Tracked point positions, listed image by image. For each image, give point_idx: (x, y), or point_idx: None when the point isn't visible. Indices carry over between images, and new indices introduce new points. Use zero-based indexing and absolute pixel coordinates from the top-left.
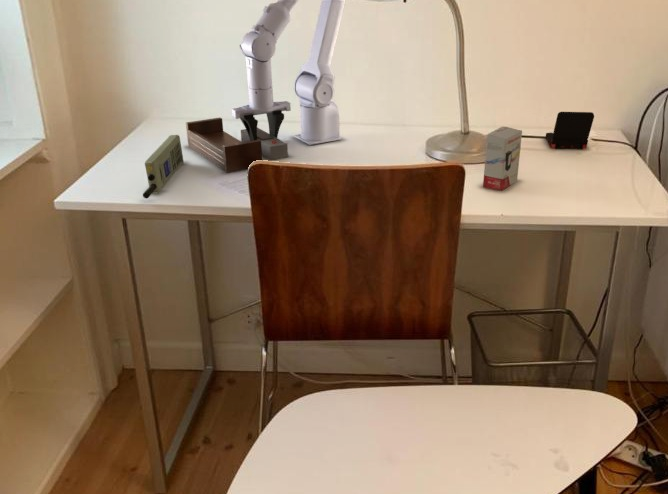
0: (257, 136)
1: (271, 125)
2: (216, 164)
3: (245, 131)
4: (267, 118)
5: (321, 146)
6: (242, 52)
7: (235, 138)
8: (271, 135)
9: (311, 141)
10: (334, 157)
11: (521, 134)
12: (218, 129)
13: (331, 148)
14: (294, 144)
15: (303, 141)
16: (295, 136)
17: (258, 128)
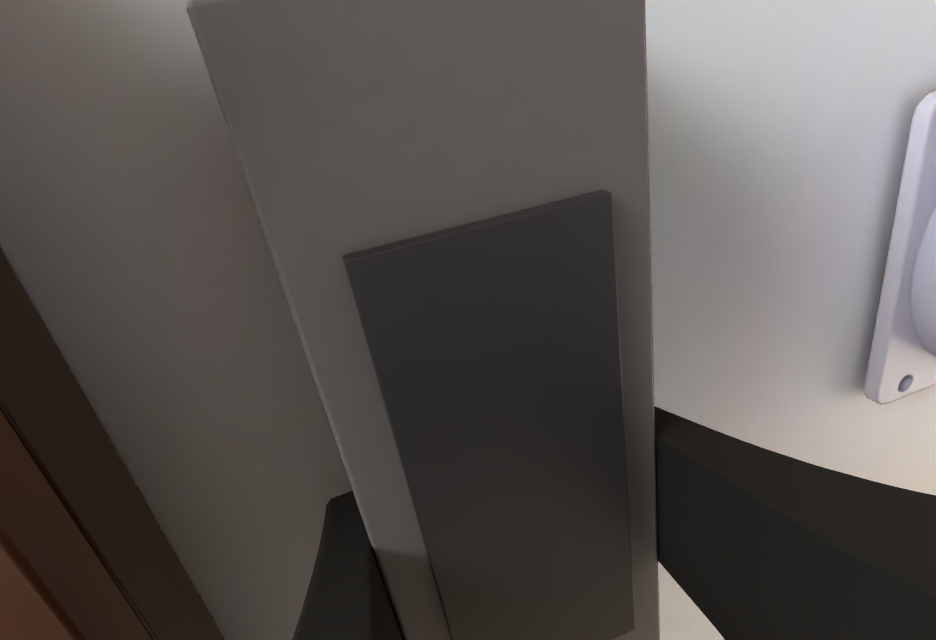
0: (446, 601)
1: (780, 613)
2: None
3: (301, 212)
4: (910, 585)
5: (903, 422)
6: None
7: (15, 586)
8: (649, 513)
9: (917, 358)
10: None
11: None
12: None
13: (919, 474)
14: (786, 330)
15: (881, 304)
16: (921, 135)
17: (630, 64)
